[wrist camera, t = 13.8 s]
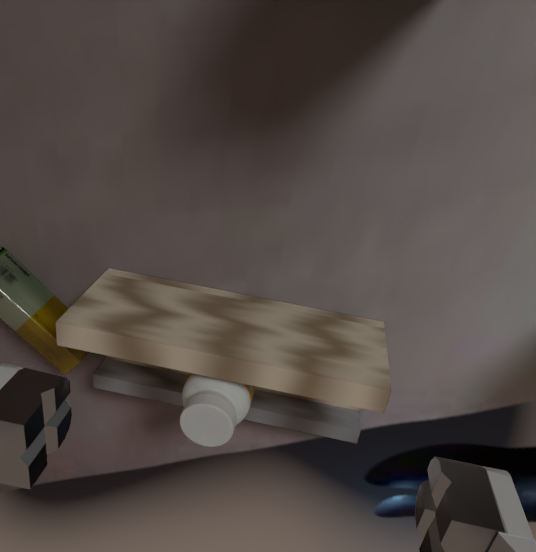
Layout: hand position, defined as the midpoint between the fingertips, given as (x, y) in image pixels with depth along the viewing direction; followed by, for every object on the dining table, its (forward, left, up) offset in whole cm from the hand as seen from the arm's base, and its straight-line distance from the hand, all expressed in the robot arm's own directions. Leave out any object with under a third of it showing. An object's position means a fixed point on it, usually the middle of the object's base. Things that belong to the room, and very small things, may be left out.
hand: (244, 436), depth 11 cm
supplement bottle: (-4, -18, -28) cm, 34 cm away
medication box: (-22, -18, -29) cm, 41 cm away
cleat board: (-4, -19, -29) cm, 35 cm away
